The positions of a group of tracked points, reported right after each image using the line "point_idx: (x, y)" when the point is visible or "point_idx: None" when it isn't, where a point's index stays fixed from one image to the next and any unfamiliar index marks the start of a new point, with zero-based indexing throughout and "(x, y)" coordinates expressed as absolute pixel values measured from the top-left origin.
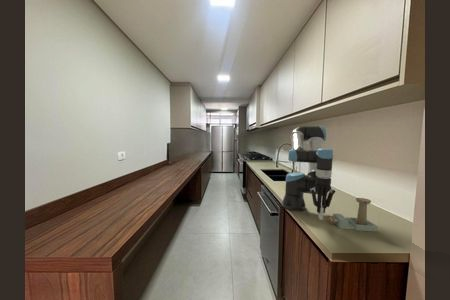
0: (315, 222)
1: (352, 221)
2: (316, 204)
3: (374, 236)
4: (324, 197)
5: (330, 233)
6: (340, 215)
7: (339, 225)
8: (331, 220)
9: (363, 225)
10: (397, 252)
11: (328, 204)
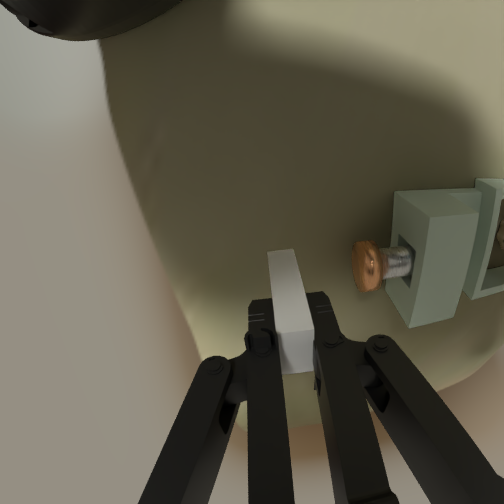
0: (243, 240)
1: (487, 254)
2: (223, 414)
3: (478, 317)
4: (337, 494)
5: None
6: (460, 248)
7: (391, 290)
8: (360, 288)
9: (497, 290)
10: (449, 385)
11: (378, 398)
